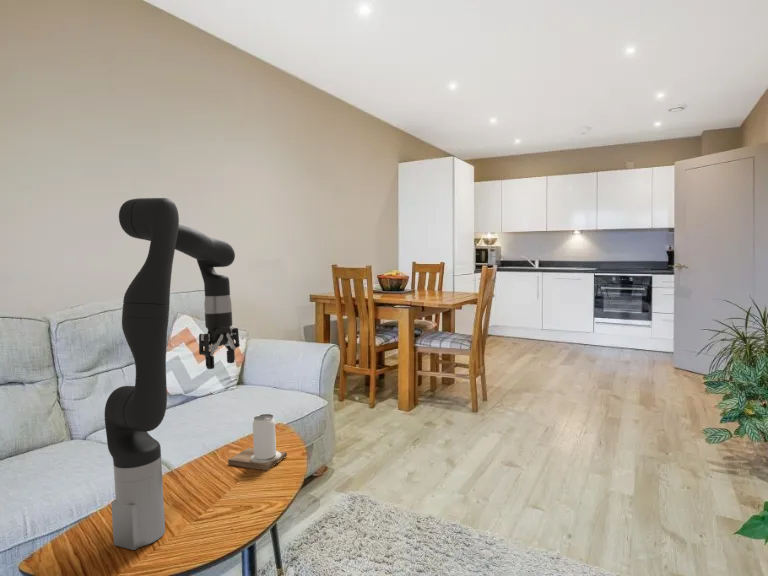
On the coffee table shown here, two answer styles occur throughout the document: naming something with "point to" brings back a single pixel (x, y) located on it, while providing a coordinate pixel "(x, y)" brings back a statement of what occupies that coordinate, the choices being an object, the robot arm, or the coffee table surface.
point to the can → (264, 437)
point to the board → (255, 460)
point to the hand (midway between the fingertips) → (221, 365)
